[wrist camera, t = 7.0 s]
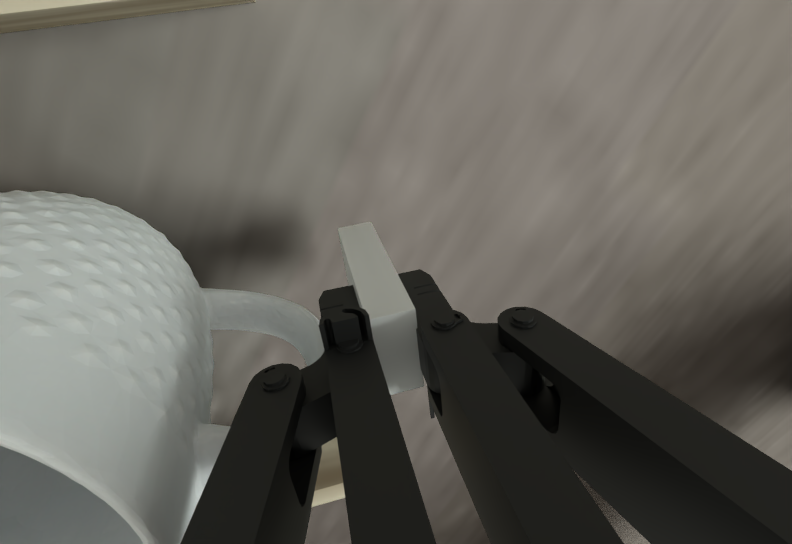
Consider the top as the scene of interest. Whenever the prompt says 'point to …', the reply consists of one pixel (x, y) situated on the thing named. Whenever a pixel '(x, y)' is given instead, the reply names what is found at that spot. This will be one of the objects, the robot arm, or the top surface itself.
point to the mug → (110, 373)
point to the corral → (83, 3)
